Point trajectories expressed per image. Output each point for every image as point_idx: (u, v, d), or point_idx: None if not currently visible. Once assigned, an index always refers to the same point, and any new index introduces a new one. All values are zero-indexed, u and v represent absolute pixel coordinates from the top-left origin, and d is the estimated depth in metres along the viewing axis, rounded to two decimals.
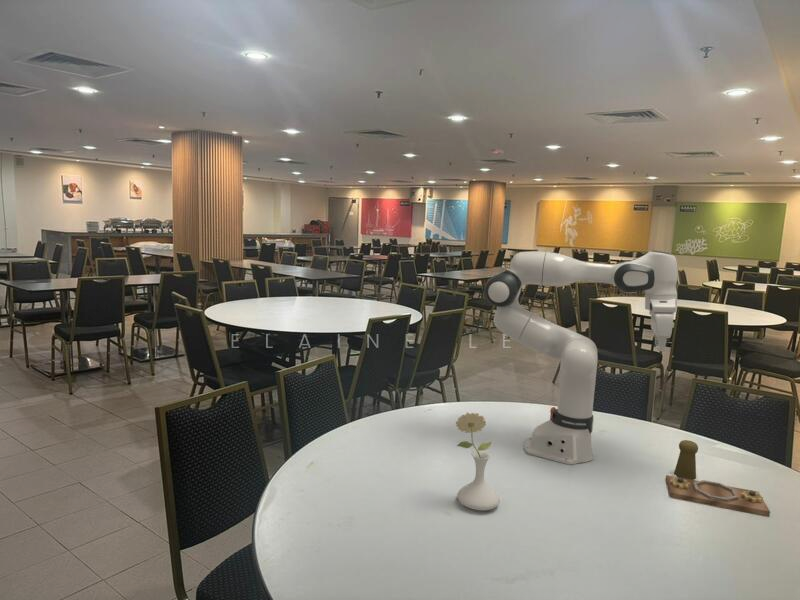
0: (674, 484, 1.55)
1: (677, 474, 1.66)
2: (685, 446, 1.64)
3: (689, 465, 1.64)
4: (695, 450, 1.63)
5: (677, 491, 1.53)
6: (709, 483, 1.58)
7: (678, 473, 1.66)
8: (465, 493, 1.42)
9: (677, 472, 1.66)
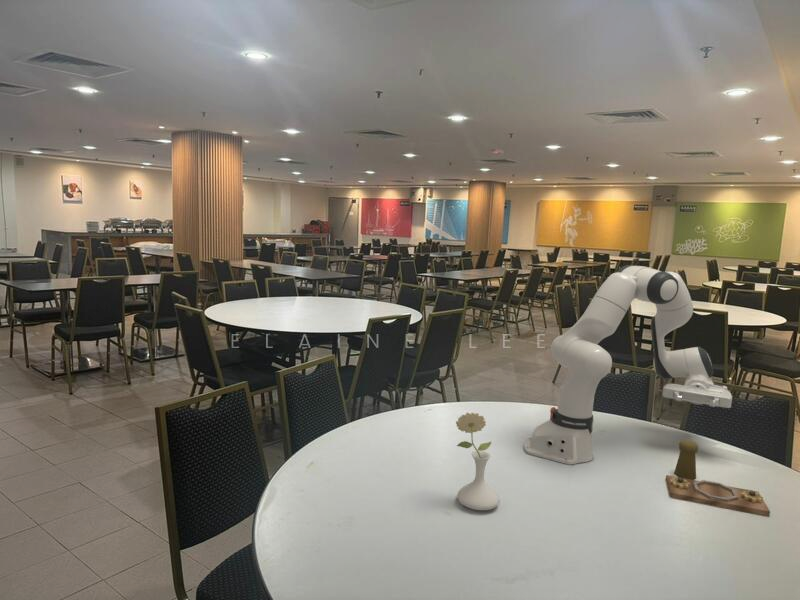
0: (674, 484, 1.55)
1: (677, 474, 1.66)
2: (685, 446, 1.64)
3: (689, 465, 1.64)
4: (695, 450, 1.63)
5: (677, 491, 1.53)
6: (709, 483, 1.58)
7: (678, 473, 1.66)
8: (465, 493, 1.42)
9: (677, 472, 1.66)
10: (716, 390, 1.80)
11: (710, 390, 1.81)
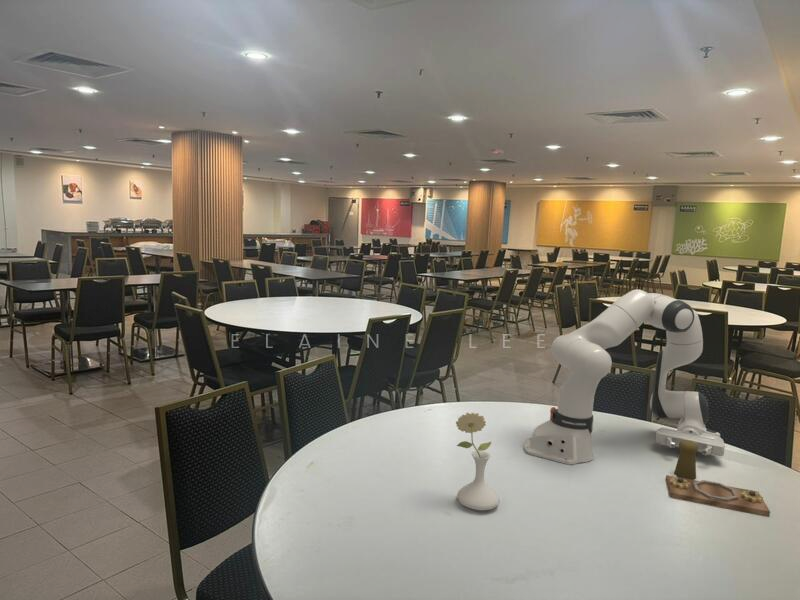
0: (674, 484, 1.55)
1: (677, 474, 1.66)
2: (685, 446, 1.64)
3: (689, 465, 1.64)
4: (695, 450, 1.63)
5: (677, 491, 1.53)
6: (709, 483, 1.58)
7: (678, 473, 1.66)
8: (465, 493, 1.42)
9: (677, 472, 1.66)
10: (709, 437, 1.80)
11: (703, 436, 1.81)
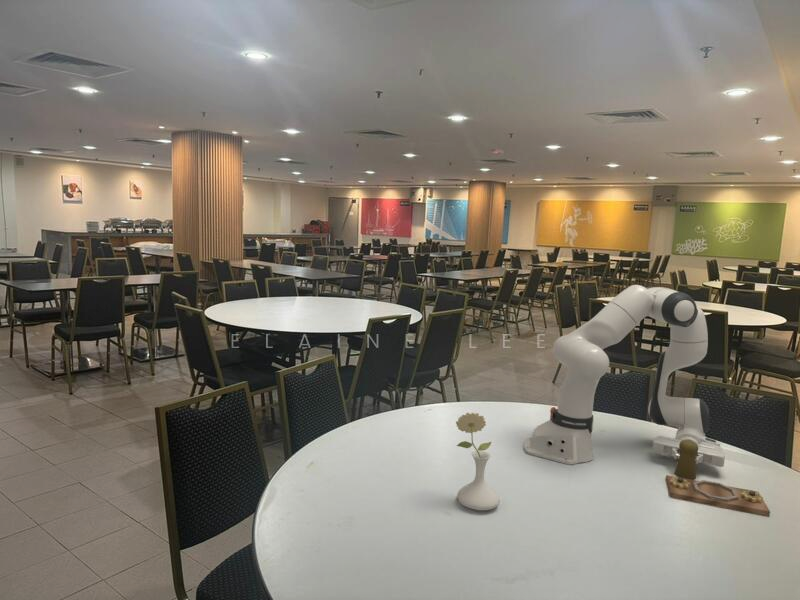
0: (674, 484, 1.55)
1: (677, 474, 1.66)
2: (685, 446, 1.64)
3: (689, 465, 1.64)
4: (695, 450, 1.63)
5: (677, 491, 1.53)
6: (709, 483, 1.58)
7: (678, 473, 1.66)
8: (465, 493, 1.42)
9: (677, 472, 1.66)
10: (708, 446, 1.71)
11: (702, 446, 1.72)
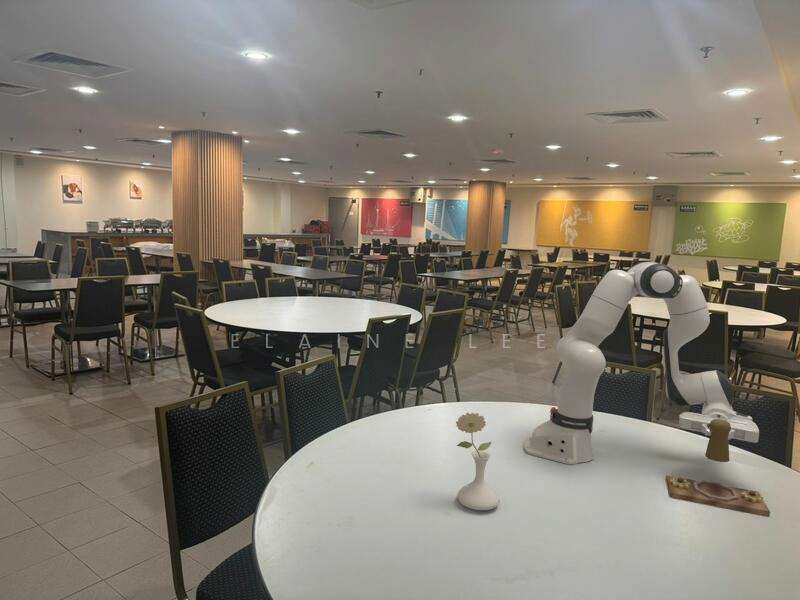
0: (674, 484, 1.55)
1: (708, 456, 1.53)
2: (715, 425, 1.51)
3: (720, 445, 1.51)
4: (727, 429, 1.50)
5: (677, 491, 1.53)
6: (709, 483, 1.58)
7: (709, 454, 1.53)
8: (465, 493, 1.42)
9: (708, 453, 1.54)
10: (740, 422, 1.59)
11: (733, 421, 1.59)
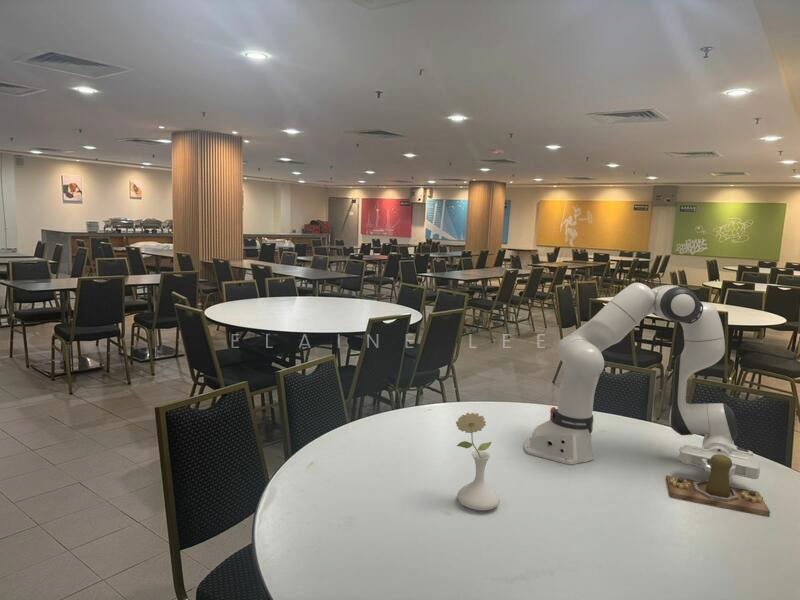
0: (674, 484, 1.55)
1: (708, 491, 1.53)
2: (716, 461, 1.50)
3: (721, 481, 1.50)
4: (728, 466, 1.49)
5: (677, 491, 1.53)
6: None
7: (709, 489, 1.52)
8: (465, 493, 1.42)
9: (708, 488, 1.53)
10: (741, 457, 1.58)
11: (733, 456, 1.58)
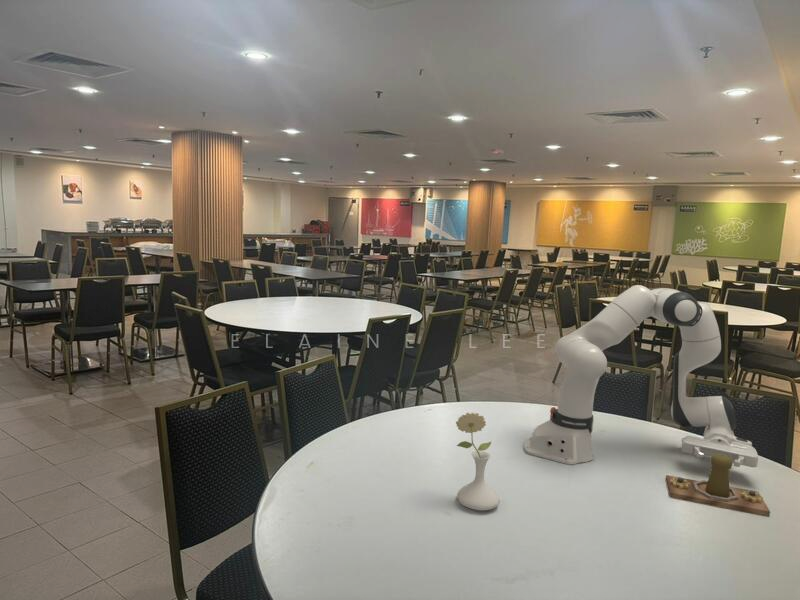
0: (674, 484, 1.55)
1: (708, 491, 1.53)
2: (716, 461, 1.50)
3: (721, 481, 1.50)
4: (728, 466, 1.49)
5: (677, 491, 1.53)
6: None
7: (709, 489, 1.52)
8: (465, 493, 1.42)
9: (708, 488, 1.53)
10: (740, 446, 1.66)
11: (733, 446, 1.66)
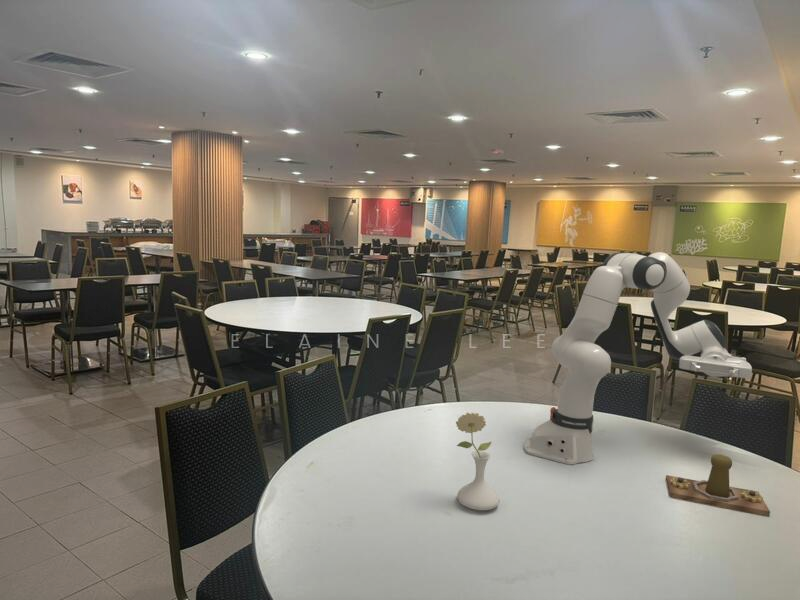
0: (674, 484, 1.55)
1: (708, 491, 1.53)
2: (716, 461, 1.50)
3: (721, 481, 1.50)
4: (728, 466, 1.49)
5: (677, 491, 1.53)
6: None
7: (709, 489, 1.52)
8: (465, 493, 1.42)
9: (708, 488, 1.53)
10: (735, 362, 1.74)
11: (728, 361, 1.75)
